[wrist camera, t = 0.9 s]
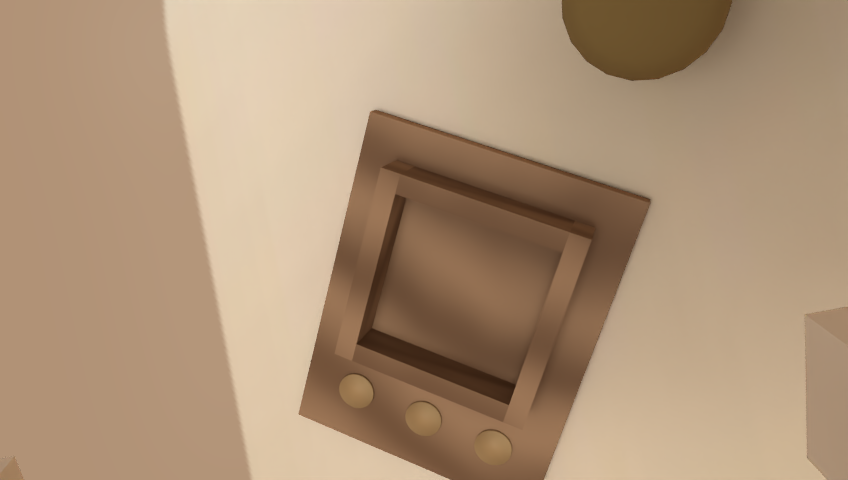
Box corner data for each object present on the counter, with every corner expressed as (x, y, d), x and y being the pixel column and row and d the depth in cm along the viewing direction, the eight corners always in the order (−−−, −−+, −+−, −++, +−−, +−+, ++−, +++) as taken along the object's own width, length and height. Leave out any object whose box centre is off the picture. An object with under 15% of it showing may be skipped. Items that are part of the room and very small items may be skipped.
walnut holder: (376, 110, 37) (353, 116, 34) (650, 199, 34) (649, 214, 31) (304, 407, 43) (280, 433, 40) (532, 504, 40) (523, 539, 37)
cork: (553, -15, 33) (506, -37, 23) (680, -98, 30) (691, -165, 20) (618, 103, 33) (600, 133, 23) (748, 30, 31) (793, 27, 21)
